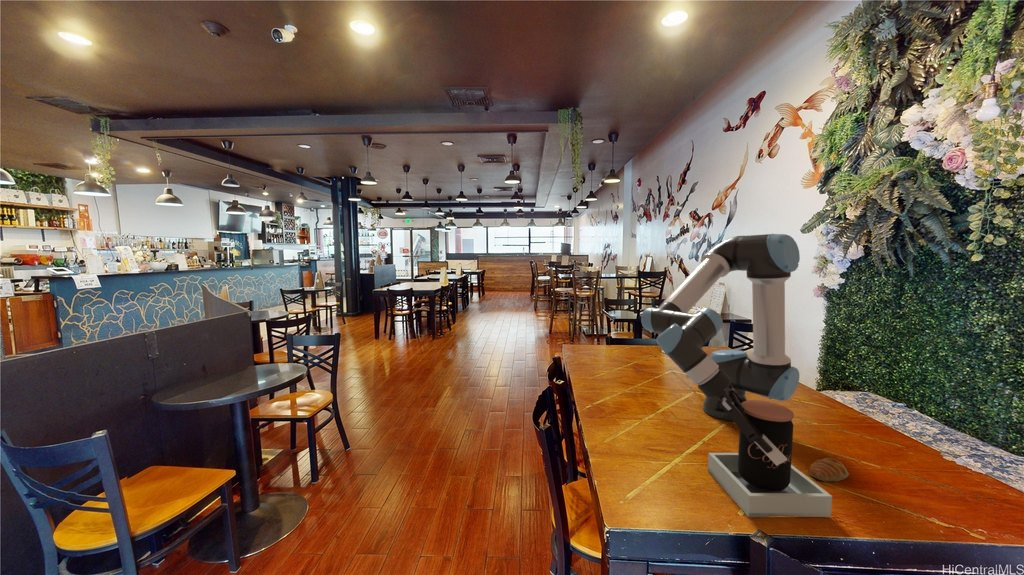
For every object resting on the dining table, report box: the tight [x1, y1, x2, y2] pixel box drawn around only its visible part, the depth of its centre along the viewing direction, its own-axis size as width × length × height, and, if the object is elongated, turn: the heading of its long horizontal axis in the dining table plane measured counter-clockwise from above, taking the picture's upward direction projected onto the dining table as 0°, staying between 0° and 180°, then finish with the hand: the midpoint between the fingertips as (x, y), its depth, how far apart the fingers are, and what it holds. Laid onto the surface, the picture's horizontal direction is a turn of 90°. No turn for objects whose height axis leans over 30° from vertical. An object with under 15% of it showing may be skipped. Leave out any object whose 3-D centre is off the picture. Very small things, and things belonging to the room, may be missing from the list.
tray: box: [707, 452, 833, 519], centre depth 91 cm, size 18×18×5 cm
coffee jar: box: [737, 399, 795, 491], centre depth 90 cm, size 11×11×18 cm
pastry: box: [808, 456, 850, 483], centre depth 97 cm, size 9×7×4 cm
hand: (779, 450), depth 89 cm, fingers closed on coffee jar, 10 cm apart
